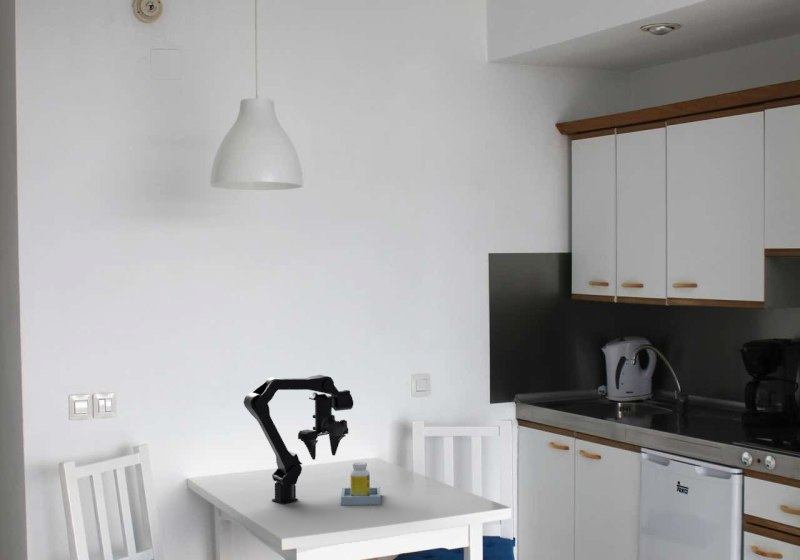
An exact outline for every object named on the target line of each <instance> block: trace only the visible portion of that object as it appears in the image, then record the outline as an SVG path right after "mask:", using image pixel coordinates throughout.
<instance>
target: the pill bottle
mask: <svg viewBox="0 0 800 560" xmlns="http://www.w3.org/2000/svg"><path fill="white" fill-rule="evenodd" d="M367 467H368V463H367V462H365V461H355V462H353V463H352V468H353V470H351V471H350V488H351V496H370V487H371V483H370V477H371V476H370V471H369V470H368V469H367Z"/></svg>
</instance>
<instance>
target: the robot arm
mask: <svg viewBox="0 0 800 560" xmlns="http://www.w3.org/2000/svg"><path fill="white" fill-rule="evenodd" d="M334 382H335V381H334V379H332V377H330V376H328V375H323V374H318V375H312V376H308V377H304V378H303V377H300V378H297V377H296V378H294V377H292V378H289V377H288V378H287V377H283V378H282V377H281V378H277V377H269V378H267V379H266V380H265V381H264V382H263V383H262V384H261V385H259V386H257V387H256V388H255V389H254V390H252V392H250V393H248V394H247V395H246V394H245V397H244V399H243V406H244V408H246V410H247V411H248V413H249V414H250V415H251V416H253V418H254V419H255V420H256V421H257V423H258V424H259V426H260V428H261V430H262V432H263V434H264V436H265V438H266V440H267V441H268V443H269V446H270V447H271V449H272V452H273V453H274V455H275V461H276V462H275V463H276V465H277V469H276V470H275V471H274V472H273V473H272V474H271V477H272V480H273V481H274V498H272V499H271V501H272V502H276V503H279V504H288V503H292V502H296V501H299V499H298V498H297V494H296V493H297V492H296V491H297V489H296V488H297V486H296V484H297V482H298V479H299V477H300V475H301V473H302V471H303V467H302V465H303V462H301V461H300V459H299V456H298V454H297V453H294V452H292V451H289V450H288V448H287V446H286V443H284V440H283V438H282V436H281V435H280V432H279V431H278V429H277V426H276V425H275V423H274V421H273V419H272V417H271V413H270V412H271V411H270V406H269V403H270V402H271V400H273V398H274V396H275V394H276V393H277V392H278V391H279V390H280V391H281V390H283V391H291V390H293V391H306V390H307V391H313V392H312V394H311V395H310V396H309V397H308V399H309V400H312V401H314V410H315V411H314V414H312V418H313V419H314V426H312V429H303V430H299V432H298V434H297V439H298V440H300V441H301V442H303V444H304V445H305V448H307V451H308V454H309V455H310V457H311V459H312V460H314V461H316V456H317V455H316V451H317V449H316V447H317V443H318V442H319V440H318V437H320V436H321V437H322V436H326V435H328V438H329V445H330V446H329V447H330V451H331V455H332V457H333V456H336V454H337V450H338V447H339V445H340V442H341V440H342V439H343V438H345V437H346V435H347V434H348V435H349V427H348V421H347V420H345V419H340V420H336V417H335V414H332V413H333V411H332V410H334V411H336V412H339V411H348V410H352V409H353V407H354V400H353V397H352V396H353V395H352V394H351V390H348V389H344V390H342V391H341V390H338V388H337V387H336V385H335V383H334ZM317 392H319V394H318V393H317ZM321 393H322V394H321ZM327 394H328V395H327Z"/></svg>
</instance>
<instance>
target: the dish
mask: <svg viewBox="0 0 800 560" xmlns="http://www.w3.org/2000/svg"><path fill="white" fill-rule="evenodd" d="M340 494H341V495H340V506H348V505H349V506H350V505H351V506H353V505H354V506H355V505H359V506H363V505H365V506H366V505H368V504H369V505H381V487H379V486H376V487H374V486H373V487H371V486H370V496H351V487H342V488H341V493H340Z"/></svg>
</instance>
